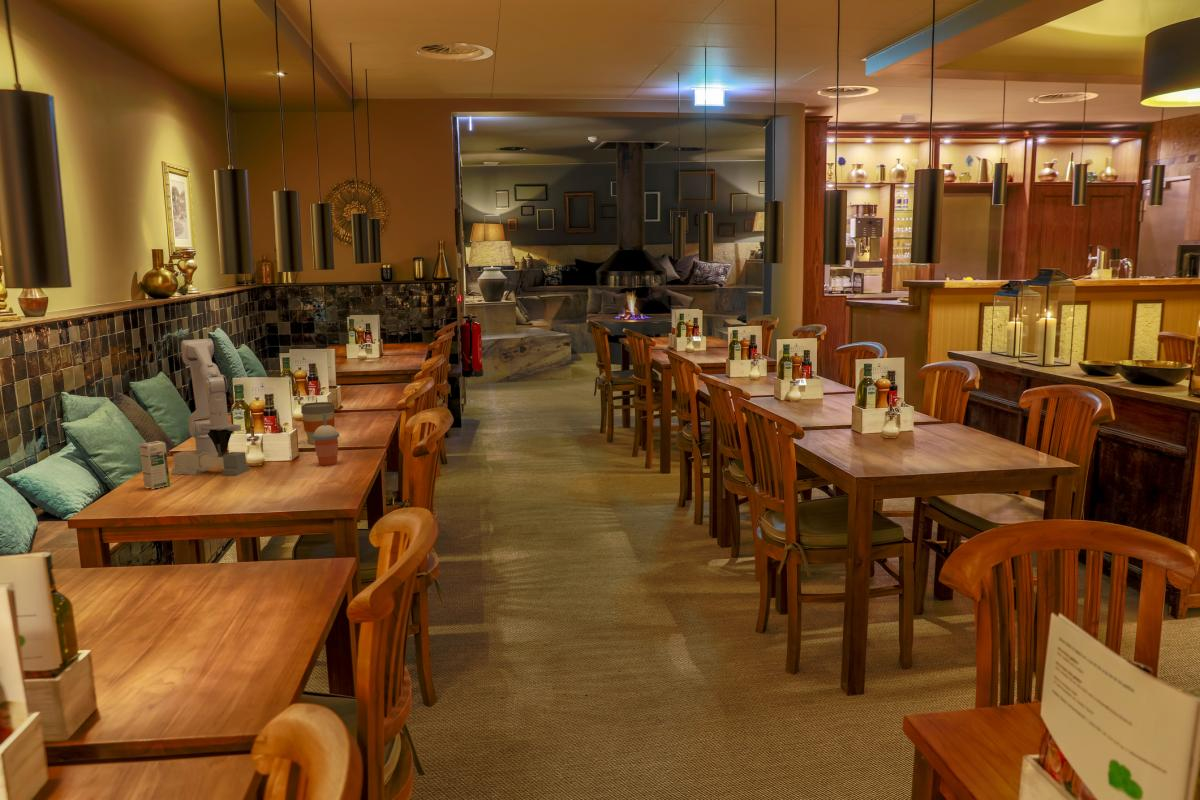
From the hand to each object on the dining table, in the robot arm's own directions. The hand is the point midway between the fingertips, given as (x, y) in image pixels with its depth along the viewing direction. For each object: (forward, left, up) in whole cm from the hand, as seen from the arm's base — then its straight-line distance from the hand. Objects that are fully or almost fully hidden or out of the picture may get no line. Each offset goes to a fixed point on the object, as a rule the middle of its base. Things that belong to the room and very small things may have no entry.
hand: (222, 451), depth 298 cm
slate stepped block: (0, +4, -7) cm, 8 cm away
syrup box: (+20, -11, -7) cm, 24 cm away
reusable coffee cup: (-50, +9, -7) cm, 51 cm away
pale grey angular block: (0, -2, -5) cm, 5 cm away
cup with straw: (-15, +30, -7) cm, 35 cm away
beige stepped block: (0, -12, -7) cm, 14 cm away
